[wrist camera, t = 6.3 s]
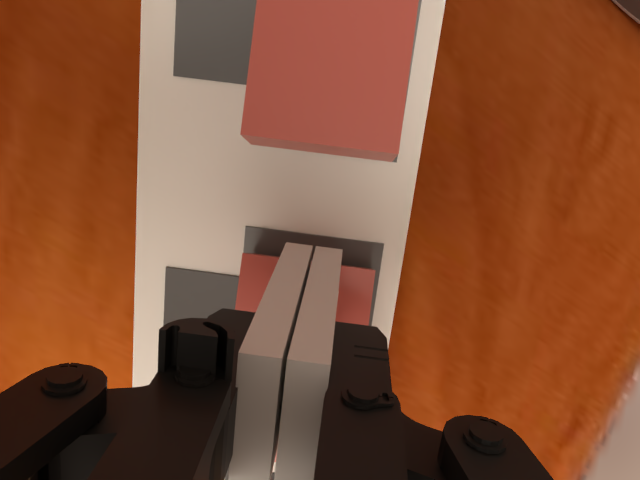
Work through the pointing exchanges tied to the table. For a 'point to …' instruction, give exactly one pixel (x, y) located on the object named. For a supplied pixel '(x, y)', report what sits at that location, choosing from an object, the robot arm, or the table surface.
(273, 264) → the block
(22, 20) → the table surface
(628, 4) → the grey rounded slab
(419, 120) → the rocker switch panel
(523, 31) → the table surface
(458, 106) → the table surface
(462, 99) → the table surface
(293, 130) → the block
